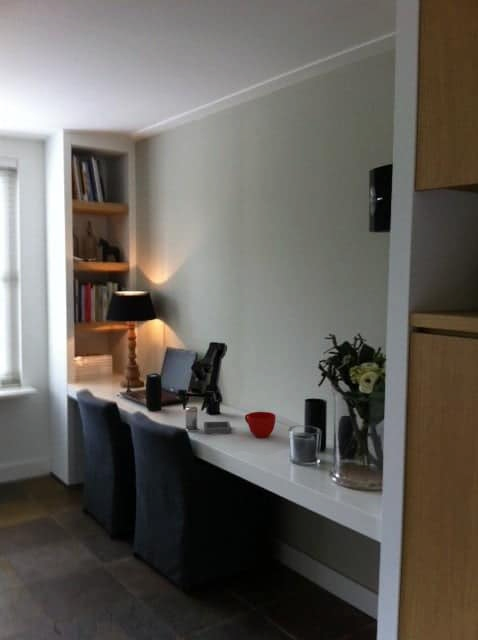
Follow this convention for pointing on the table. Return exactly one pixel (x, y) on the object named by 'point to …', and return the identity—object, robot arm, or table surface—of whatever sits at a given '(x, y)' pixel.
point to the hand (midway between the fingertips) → (192, 410)
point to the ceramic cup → (261, 423)
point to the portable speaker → (153, 392)
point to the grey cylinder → (191, 419)
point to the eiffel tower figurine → (127, 389)
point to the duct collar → (217, 424)
